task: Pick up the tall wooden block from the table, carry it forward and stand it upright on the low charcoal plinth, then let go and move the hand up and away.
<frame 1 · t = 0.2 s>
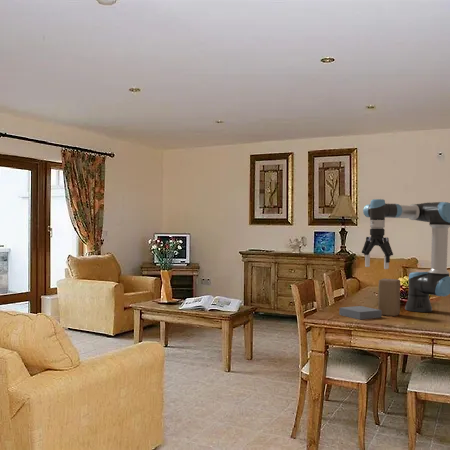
hand: (376, 267, 279), 28 cm above the table, tool pointing down, fingers open, 13 cm apart
wooden block: (388, 315, 297), on the table
charcoal plinth: (360, 316, 290), on the table
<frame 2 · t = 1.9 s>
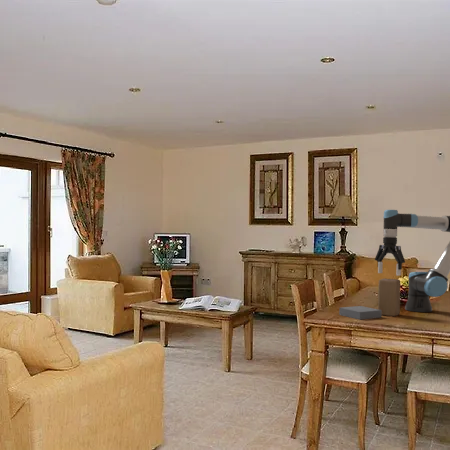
hand: (389, 274, 297), 23 cm above the table, tool pointing down, fingers open, 13 cm apart
nothing on the table moved.
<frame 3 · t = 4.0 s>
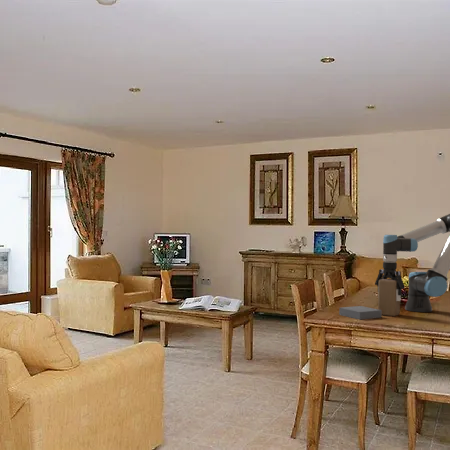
hand: (389, 299, 297), 9 cm above the table, tool pointing down, fingers closed on wooden block, 13 cm apart
wooden block: (388, 315, 297), on the table, touching gripper
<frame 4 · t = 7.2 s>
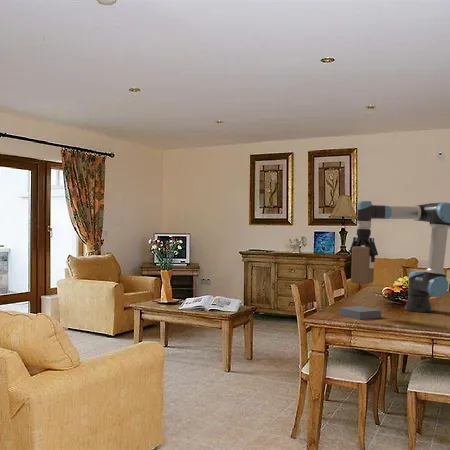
hand: (362, 267, 290), 27 cm above the table, tool pointing down, fingers closed on wooden block, 13 cm apart
wooden block: (362, 283, 290), point 18 cm above the table, touching gripper
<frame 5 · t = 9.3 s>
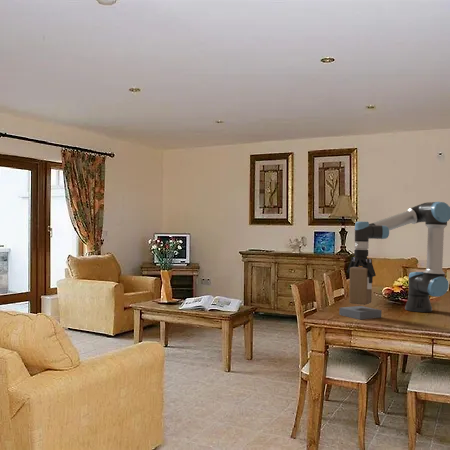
hand: (360, 287, 290), 16 cm above the table, tool pointing down, fingers closed on wooden block, 13 cm apart
wooden block: (360, 303, 290), point 7 cm above the table, touching gripper
when the fingers open (14 cm above the table, at t = 10.8 s): wooden block drops 1 cm, resting on charcoal plinth.
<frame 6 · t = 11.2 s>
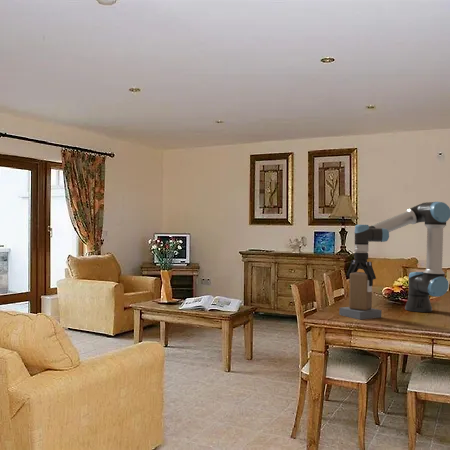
hand: (360, 290, 290), 14 cm above the table, tool pointing down, fingers open, 13 cm apart
wooden block: (360, 309, 290), point 4 cm above the table, touching charcoal plinth
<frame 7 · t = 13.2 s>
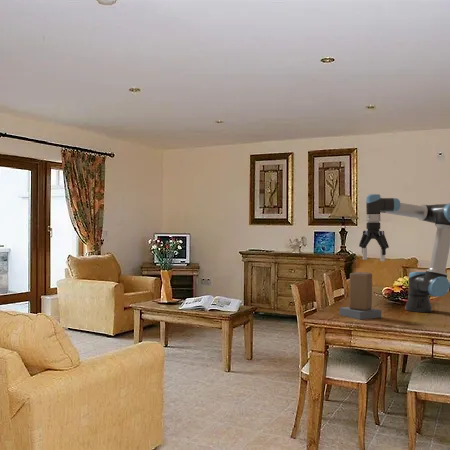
hand: (373, 260, 291), 31 cm above the table, tool pointing down, fingers open, 13 cm apart
nothing on the table moved.
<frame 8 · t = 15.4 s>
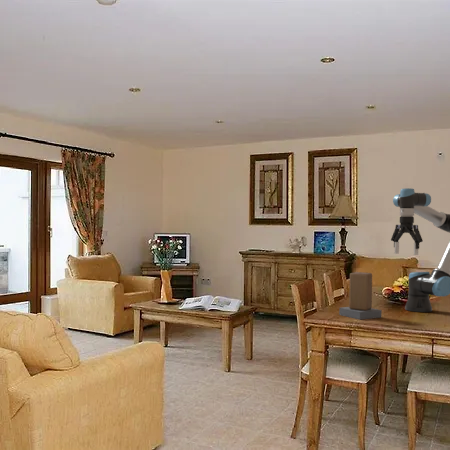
hand: (406, 254, 292), 35 cm above the table, tool pointing down, fingers open, 13 cm apart
nothing on the table moved.
at the end: wooden block 0.1 cm off-centre on the charcoal plinth, point 3.8 cm above the charcoal plinth's base; wooden block tilted 0°; the gripper is holding nothing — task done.
